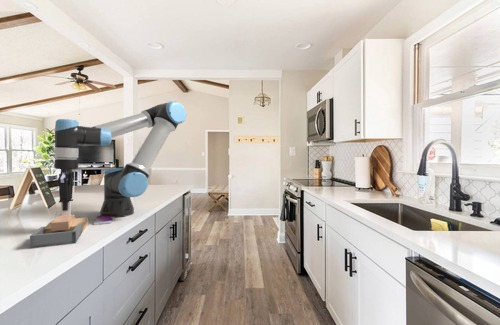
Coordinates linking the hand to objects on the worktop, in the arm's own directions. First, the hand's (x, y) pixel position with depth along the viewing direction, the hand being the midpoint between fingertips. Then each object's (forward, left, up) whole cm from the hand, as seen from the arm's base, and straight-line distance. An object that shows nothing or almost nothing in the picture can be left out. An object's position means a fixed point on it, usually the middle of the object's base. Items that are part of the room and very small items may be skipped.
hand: (65, 218), depth 98 cm
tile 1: (0, +8, -2) cm, 8 cm away
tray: (0, +14, -5) cm, 14 cm away
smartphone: (-12, -11, -5) cm, 17 cm away
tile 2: (0, +3, -2) cm, 4 cm away
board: (0, +1, -5) cm, 5 cm away
